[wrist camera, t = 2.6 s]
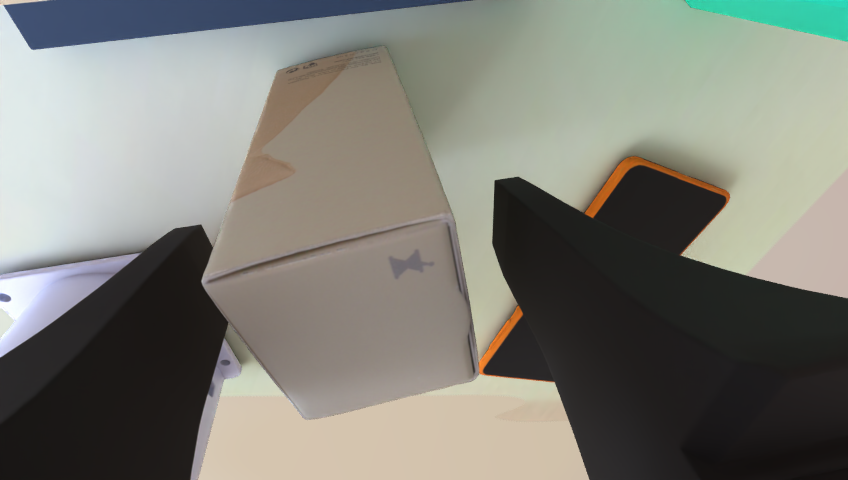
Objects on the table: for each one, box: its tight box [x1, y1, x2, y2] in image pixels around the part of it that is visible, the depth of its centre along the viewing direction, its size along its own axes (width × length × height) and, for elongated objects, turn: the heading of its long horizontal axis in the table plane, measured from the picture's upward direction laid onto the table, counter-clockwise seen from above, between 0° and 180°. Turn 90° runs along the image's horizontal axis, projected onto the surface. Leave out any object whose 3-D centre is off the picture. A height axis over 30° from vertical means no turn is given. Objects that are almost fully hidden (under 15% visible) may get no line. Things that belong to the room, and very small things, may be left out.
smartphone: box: [479, 156, 730, 382], centre depth 24 cm, size 8×17×1 cm, turn 158°
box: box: [201, 46, 479, 420], centre depth 12 cm, size 5×4×11 cm
